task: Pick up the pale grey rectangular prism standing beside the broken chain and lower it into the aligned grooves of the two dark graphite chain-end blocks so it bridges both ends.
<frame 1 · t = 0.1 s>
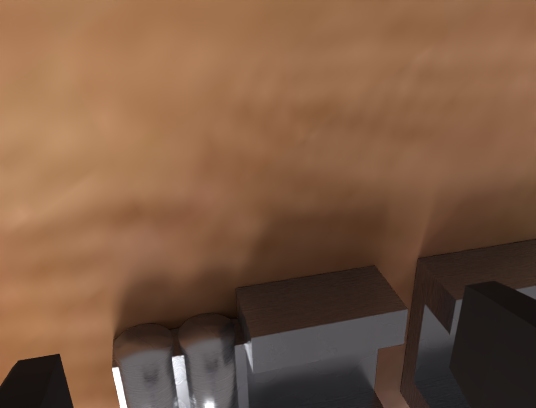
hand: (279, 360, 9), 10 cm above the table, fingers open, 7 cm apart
chain end a: (465, 319, 25), on the table
chain end b: (306, 350, 23), on the table
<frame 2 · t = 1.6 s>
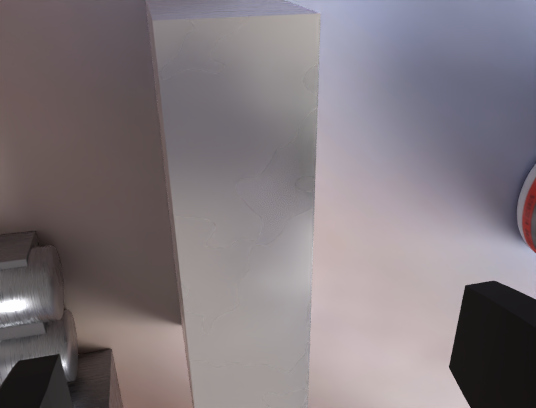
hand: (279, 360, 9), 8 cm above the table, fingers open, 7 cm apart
pale grey rectangular prism: (213, 178, 16), on the table
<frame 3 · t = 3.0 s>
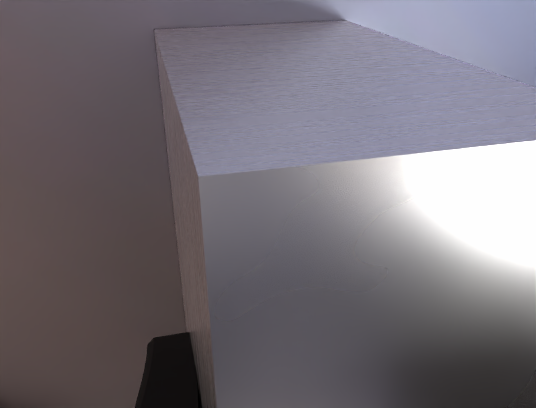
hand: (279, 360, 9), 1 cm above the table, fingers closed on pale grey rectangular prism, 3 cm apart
pale grey rectangular prism: (260, 311, 10), on the table, touching gripper
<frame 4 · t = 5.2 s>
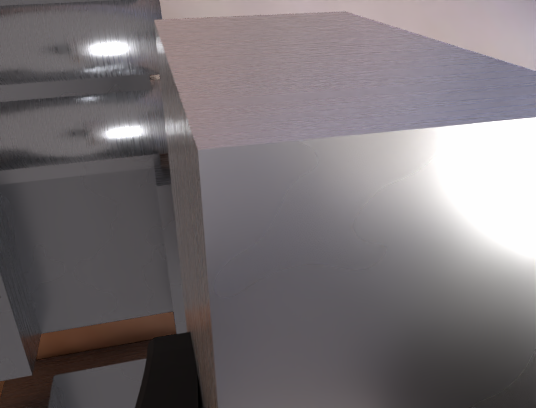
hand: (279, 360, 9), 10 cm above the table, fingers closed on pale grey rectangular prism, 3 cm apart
chain end a: (96, 236, 18), on the table
pale grey rectangular prism: (260, 303, 10), point 8 cm above the table, touching gripper
chain end b: (129, 400, 22), on the table
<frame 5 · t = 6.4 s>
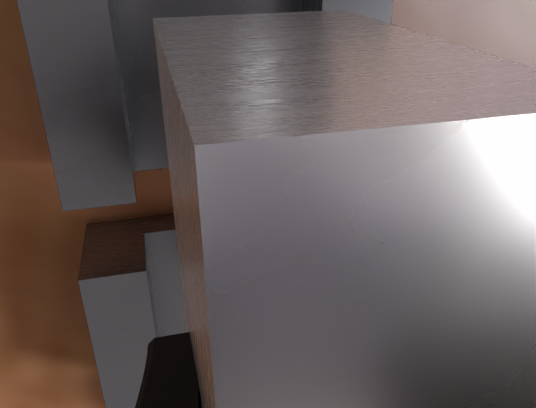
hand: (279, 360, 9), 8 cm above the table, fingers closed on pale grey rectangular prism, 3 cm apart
chain end a: (206, 48, 14), on the table
pale grey rectangular prism: (259, 302, 10), point 6 cm above the table, touching gripper
chain end b: (221, 285, 18), on the table
when the fingers open (4 cm above the table, at t = 7.6 s): pale grey rectangular prism drops 1 cm, resting on chain end a, chain end b.
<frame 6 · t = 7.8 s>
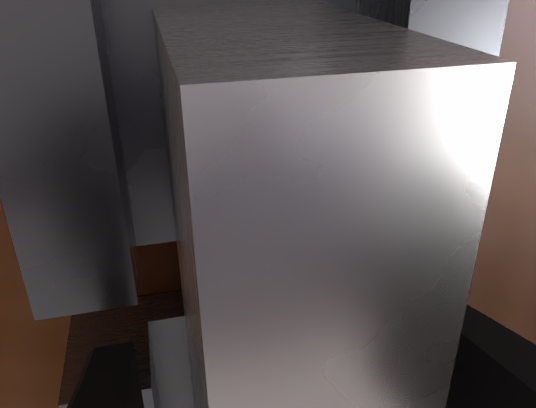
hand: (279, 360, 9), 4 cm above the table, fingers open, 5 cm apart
chain end a: (230, 83, 11), on the table
pale grey rectangular prism: (247, 265, 12), point 1 cm above the table, touching chain end a, chain end b
chain end b: (243, 370, 14), on the table
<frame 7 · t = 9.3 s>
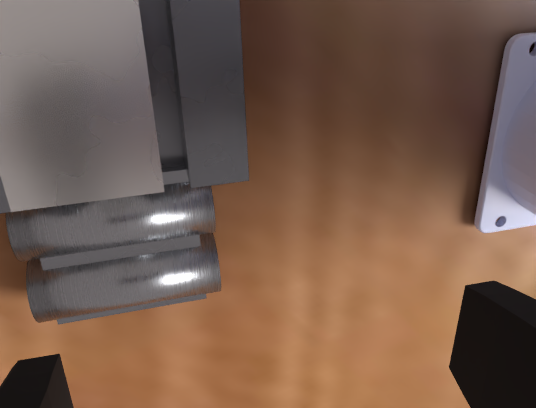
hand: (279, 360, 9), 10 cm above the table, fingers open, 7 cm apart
chain end b: (93, 67, 15), on the table
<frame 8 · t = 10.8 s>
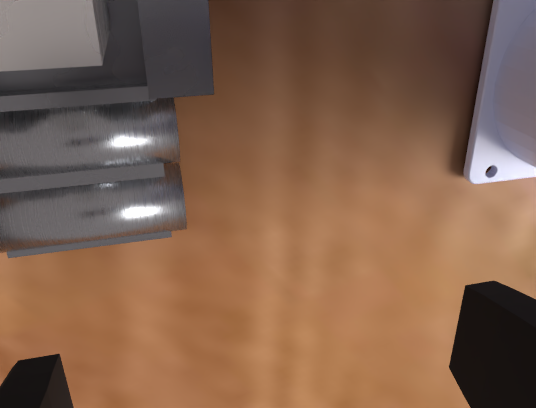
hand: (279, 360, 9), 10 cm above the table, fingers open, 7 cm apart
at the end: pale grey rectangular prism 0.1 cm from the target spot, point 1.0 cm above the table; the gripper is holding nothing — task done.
